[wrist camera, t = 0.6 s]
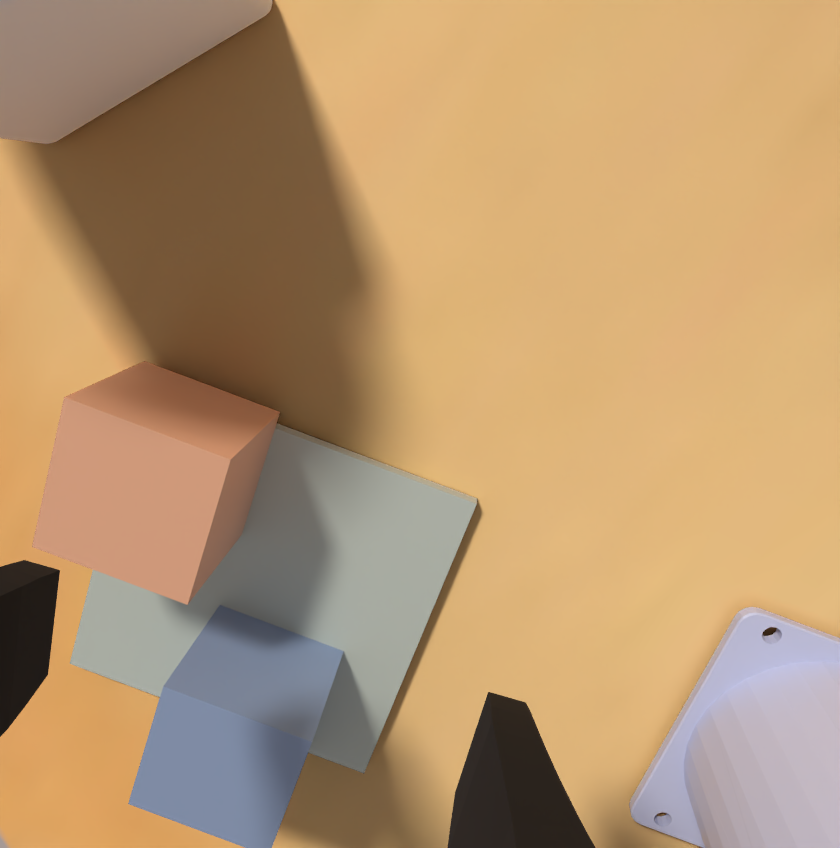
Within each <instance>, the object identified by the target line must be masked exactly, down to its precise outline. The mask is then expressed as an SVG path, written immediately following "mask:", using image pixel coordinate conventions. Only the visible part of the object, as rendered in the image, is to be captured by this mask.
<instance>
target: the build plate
mask: <svg viewBox="0 0 840 848" xmlns="http://www.w3.org/2000/svg"><path fill="white" fill-rule="evenodd" d="M476 505H477V498H475V497H472V496H469V495H467V494H464V493H461V492H459V491H456V490H453V489H451V488H448V487H445V486H443V485H440V484H437V483H435V482H432V481H429V480H427V479H424V478H421V477H419V476H416V475H413V474H411V473H408V472H405V471H403V470H400V469H397V468H395V467H392V466H389V465H387V464H384V463H381V462H379V461H376V460H373V459H371V458H368V457H365V456H363V455H360V454H357V453H355V452H352V451H349V450H347V449H344V448H341V447H339V446H336V445H333V444H331V443H328V442H326V441H323V440H320V439H318V438H315V437H312V436H310V435H307V434H304V433H302V432H299V431H296V430H294V429H291V428H288V427H286V426H283V425H280V424H278V423H277V424H276V427H275V430H274V434H273V437H272V440H271V443H270V446H269V450H268V453H267V456H266V459H265V462H264V466H263V469H262V472H261V475H260V478H259V482H258V485H257V488H256V491H255V494H254V497H253V501H252V504H251V507H250V510H249V513H248V517H247V520H246V523H245V526H244V529H243V533H242V535H241V536H240V538H239V539H238V540H237V542H236V543H235V544H234V545H233V547H232V548H231V549H230V551H229V552H228V553H227V555H226V556H225V557H224V558H223V560H222V561H221V562H220V564H219V565H218V566H217V567H216V569H215V570H214V571H213V573H212V574H211V575H210V576H209V578H208V579H207V580H206V582H205V583H204V584H203V586H202V587H201V588H200V589H199V591H198V592H197V593H196V595H195V596H194V597H193V598H192V600H191V601H190V602H189V604H188V605H186V604H184V603H181V602H178V601H176V600H173V599H170V598H168V597H165V596H162V595H160V594H157V593H154V592H152V591H149V590H146V589H144V588H141V587H138V586H136V585H133V584H130V583H128V582H125V581H122V580H119V579H117V578H114V577H111V576H109V575H106V574H103V573H101V572H98V571H95V570H93V572H92V576H91V580H90V584H89V588H88V592H87V596H86V600H85V604H84V608H83V612H82V617H81V621H80V625H79V629H78V633H77V637H76V641H75V645H74V649H73V653H72V657H71V661H70V664H72V665H75V666H78V667H80V668H83V669H86V670H88V671H91V672H94V673H96V674H99V675H102V676H104V677H107V678H110V679H112V680H115V681H118V682H120V683H123V684H126V685H128V686H131V687H134V688H136V689H139V690H142V691H145V692H147V693H150V694H153V695H155V696H158V697H160V696H161V692H162V689H163V686H164V685H165V683H166V682H167V680H168V679H169V677H170V676H171V674H172V673H173V672H174V670H175V669H176V667H177V666H178V664H179V663H180V662H181V660H182V659H183V657H184V656H185V654H186V653H187V651H188V650H189V649H190V647H191V646H192V644H193V643H194V641H195V640H196V638H197V637H198V636H199V634H200V633H201V631H202V630H203V628H204V627H205V625H206V624H207V623H208V621H209V620H210V618H211V617H212V615H213V614H214V613H215V611H216V610H217V608H218V607H219V605H222V606H225V607H227V608H230V609H233V610H235V611H238V612H241V613H243V614H246V615H249V616H251V617H254V618H257V619H259V620H262V621H265V622H267V623H270V624H273V625H275V626H278V627H281V628H283V629H286V630H289V631H291V632H294V633H297V634H299V635H302V636H305V637H307V638H310V639H313V640H315V641H318V642H321V643H323V644H326V645H329V646H331V647H334V648H337V649H339V650H342V651H344V652H343V654H342V657H341V660H340V663H339V666H338V669H337V672H336V675H335V678H334V680H333V683H332V686H331V689H330V692H329V695H328V698H327V701H326V703H325V706H324V709H323V712H322V715H321V718H320V721H319V724H318V727H317V729H316V732H315V735H314V738H313V741H312V744H311V746H310V749H309V751H308V753H311V754H313V755H316V756H319V757H321V758H324V759H327V760H329V761H332V762H335V763H337V764H340V765H343V766H345V767H348V768H351V769H353V770H356V771H359V772H361V773H364V772H365V770H366V767H367V765H368V763H369V760H370V758H371V755H372V753H373V751H374V748H375V746H376V743H377V741H378V739H379V736H380V734H381V732H382V729H383V727H384V724H385V722H386V720H387V717H388V715H389V712H390V710H391V708H392V705H393V703H394V700H395V698H396V696H397V693H398V691H399V689H400V686H401V684H402V681H403V679H404V677H405V674H406V672H407V669H408V667H409V665H410V662H411V660H412V657H413V655H414V653H415V650H416V648H417V646H418V643H419V641H420V638H421V636H422V634H423V631H424V629H425V626H426V624H427V622H428V619H429V617H430V614H431V612H432V610H433V607H434V605H435V603H436V600H437V598H438V595H439V593H440V591H441V588H442V586H443V583H444V581H445V579H446V576H447V574H448V571H449V569H450V567H451V564H452V562H453V560H454V557H455V555H456V552H457V550H458V548H459V545H460V543H461V540H462V538H463V536H464V533H465V531H466V528H467V526H468V524H469V521H470V519H471V517H472V514H473V512H474V509H475V507H476Z"/></svg>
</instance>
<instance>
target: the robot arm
mask: <svg viewBox="0 0 840 848" xmlns="http://www.w3.org/2000/svg"><path fill="white" fill-rule="evenodd" d="M59 573H60V570H57V569H54V568H50V567H47V566H43V565H40V564H36V563H32V562H29V561H25V560H23V561H20V562H16V563H12V564H8V565H5V566H2V567H0V736H1V735H2V734H3V733H4V732H5V731H6V730H7V729H8V728H9V726H10V725H11V724H12V723H13V721H14V720H15V719H16V717H17V716H18V715H19V713H20V712H21V711H22V710H23V708H24V707H25V706H26V704H27V703H28V702H29V700H30V699H31V697H32V696H33V695H34V693H35V692H36V690H37V689H38V688H39V686H40V685H41V683H42V682H43V681H44V679H45V678H46V676H47V675H48V669H49V660H50V651H51V643H52V634H53V625H54V616H55V608H56V599H57V590H58V581H59ZM770 627H775V628H777V629H776V631H775V632H774V633H773V634H772V635H769V636H763V635H762V634H763V632H764V631H765V630H766V629H767V628H770ZM629 806H630V811H631V816H632V818H633V819H634V820H635V822H637V823H639V824H641V825H643V826H646V827H649V828H651V829H654V830H657V831H659V832H662V833H665V834H667V835H670V836H673V837H675V838H678V839H681V840H683V841H686V842H689V843H692V844H694V845H697V846H700V847H702V848H840V638H838V637H835V636H833V635H830V634H827V633H825V632H822V631H819V630H817V629H814V628H811V627H809V626H806V625H803V624H801V623H798V622H795V621H793V620H790V619H787V618H785V617H782V616H779V615H777V614H774V613H771V612H769V611H766V610H763V609H761V608H757V607H748V608H744V609H742V610H741V611H739V612H738V613H737V614H736V615H735V617H734V618H733V620H732V622H731V624H730V625H729V627H728V629H727V631H726V633H725V634H724V636H723V638H722V640H721V641H720V643H719V645H718V647H717V648H716V650H715V652H714V654H713V655H712V657H711V659H710V661H709V662H708V664H707V666H706V668H705V669H704V671H703V673H702V675H701V676H700V678H699V680H698V682H697V683H696V685H695V687H694V689H693V691H692V692H691V694H690V696H689V698H688V699H687V701H686V703H685V705H684V706H683V708H682V710H681V712H680V713H679V715H678V717H677V719H676V720H675V722H674V724H673V726H672V727H671V729H670V731H669V733H668V734H667V736H666V738H665V740H664V741H663V743H662V745H661V747H660V749H659V750H658V752H657V754H656V756H655V757H654V759H653V761H652V763H651V764H650V766H649V768H648V770H647V771H646V773H645V775H644V777H643V778H642V780H641V782H640V784H639V785H638V787H637V789H636V791H635V792H634V794H633V796H632V798H631V800H630V803H629ZM661 812H663V813H667V814H666V815H664V816H656V815H657V814H658V813H661ZM448 848H595V846H594V844H593V843H592V841H591V839H590V837H589V836H588V834H587V832H586V830H585V828H584V826H583V824H582V822H581V821H580V819H579V817H578V815H577V813H576V811H575V809H574V807H573V805H572V803H571V801H570V799H569V797H568V795H567V793H566V791H565V789H564V787H563V785H562V783H561V781H560V778H559V776H558V774H557V772H556V770H555V768H554V766H553V763H552V761H551V759H550V757H549V754H548V752H547V750H546V748H545V745H544V743H543V741H542V738H541V736H540V734H539V731H538V729H537V726H536V724H535V722H534V719H533V717H532V714H531V712H530V710H529V708H528V706H527V704H526V703H525V702H522V701H518V700H515V699H511V698H508V697H504V696H501V695H497V694H494V693H490V692H488V695H487V698H486V701H485V704H484V707H483V710H482V713H481V716H480V719H479V722H478V725H477V728H476V731H475V734H474V737H473V740H472V743H471V746H470V749H469V752H468V755H467V758H466V762H465V765H464V768H463V771H462V774H461V777H460V780H459V783H458V786H457V789H456V792H455V798H454V805H453V812H452V819H451V826H450V834H449V841H448Z"/></svg>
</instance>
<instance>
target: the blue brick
mask: <svg viewBox="0 0 840 848" xmlns="http://www.w3.org/2000/svg"><path fill="white" fill-rule="evenodd" d="M343 652H344V651H342V650H339V649H337V648H334V647H331V646H329V645H326V644H323V643H321V642H318V641H315V640H313V639H310V638H307V637H305V636H302V635H299V634H297V633H294V632H291V631H289V630H286V629H283V628H281V627H278V626H275V625H273V624H270V623H267V622H265V621H262V620H259V619H257V618H254V617H251V616H249V615H246V614H243V613H241V612H238V611H235V610H233V609H230V608H227V607H225V606H222V605H219V607H218V608H217V610H216V611H215V613H214V614H213V615H212V617H211V618H210V620H209V621H208V623H207V624H206V625H205V627H204V628H203V630H202V631H201V633H200V634H199V636H198V637H197V638H196V640H195V641H194V643H193V644H192V646H191V647H190V649H189V650H188V651H187V653H186V654H185V656H184V657H183V659H182V660H181V662H180V663H179V664H178V666H177V667H176V669H175V670H174V672H173V673H172V674H171V676H170V677H169V679H168V680H167V682H166V683H165V685H164V686H163V689H162V692H161V696H160V699H159V702H158V706H157V709H156V712H155V716H154V719H153V723H152V726H151V729H150V733H149V736H148V739H147V743H146V746H145V749H144V753H143V756H142V760H141V763H140V766H139V770H138V773H137V776H136V780H135V783H134V786H133V790H132V793H131V797H130V800H129V803H128V804H130V805H133V806H135V807H138V808H141V809H143V810H146V811H149V812H151V813H154V814H157V815H160V816H162V817H165V818H168V819H170V820H173V821H176V822H178V823H181V824H184V825H186V826H189V827H192V828H194V829H197V830H200V831H202V832H205V833H208V834H211V835H213V836H216V837H219V838H221V839H224V840H227V841H229V842H232V843H235V844H237V845H240V846H243V847H245V848H272V845H273V842H274V840H275V837H276V835H277V832H278V829H279V827H280V824H281V822H282V819H283V816H284V814H285V811H286V809H287V806H288V803H289V801H290V798H291V796H292V793H293V790H294V788H295V785H296V783H297V780H298V777H299V775H300V772H301V770H302V767H303V764H304V762H305V759H306V757H307V754H308V751H309V749H310V746H311V744H312V741H313V738H314V735H315V732H316V729H317V727H318V724H319V721H320V718H321V715H322V712H323V709H324V706H325V703H326V701H327V698H328V695H329V692H330V689H331V686H332V683H333V680H334V678H335V675H336V672H337V669H338V666H339V663H340V660H341V657H342V654H343Z"/></svg>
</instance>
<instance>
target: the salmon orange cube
mask: <svg viewBox="0 0 840 848" xmlns="http://www.w3.org/2000/svg"><path fill="white" fill-rule="evenodd" d="M279 414H280V412H279V411H276V410H273V409H271V408H268V407H265V406H263V405H260V404H257V403H255V402H252V401H249V400H247V399H244V398H241V397H239V396H236V395H233V394H231V393H228V392H225V391H223V390H220V389H218V388H215V387H212V386H210V385H207V384H204V383H202V382H199V381H196V380H194V379H191V378H188V377H186V376H183V375H180V374H178V373H175V372H172V371H170V370H167V369H164V368H162V367H159V366H156V365H154V364H151V363H148V362H146V361H144V362H141V363H139V364H137V365H135V366H133V367H130V368H128V369H126V370H124V371H121V372H119V373H117V374H115V375H113V376H110V377H108V378H106V379H104V380H101V381H99V382H97V383H95V384H92V385H90V386H88V387H86V388H84V389H81V390H79V391H77V392H75V393H72V394H70V395H68V396H66V397H64V401H63V406H62V410H61V415H60V420H59V424H58V429H57V433H56V438H55V443H54V447H53V452H52V457H51V461H50V466H49V471H48V475H47V480H46V485H45V489H44V494H43V499H42V503H41V508H40V512H39V517H38V522H37V526H36V531H35V536H34V540H33V545H32V547H34V548H37V549H39V550H42V551H45V552H47V553H50V554H53V555H55V556H58V557H61V558H63V559H66V560H69V561H71V562H74V563H77V564H79V565H82V566H85V567H87V568H90V569H93V570H95V571H98V572H101V573H103V574H106V575H109V576H111V577H114V578H117V579H119V580H122V581H125V582H128V583H130V584H133V585H136V586H138V587H141V588H144V589H146V590H149V591H152V592H154V593H157V594H160V595H162V596H165V597H168V598H170V599H173V600H176V601H178V602H181V603H184V604H186V605H188V604H189V602H190V601H191V600H192V598H193V597H194V596H195V595H196V593H197V592H198V591H199V589H200V588H201V587H202V586H203V584H204V583H205V582H206V580H207V579H208V578H209V576H210V575H211V574H212V573H213V571H214V570H215V569H216V567H217V566H218V565H219V564H220V562H221V561H222V560H223V558H224V557H225V556H226V555H227V553H228V552H229V551H230V549H231V548H232V547H233V545H234V544H235V543H236V542H237V540H238V539H239V538H240V536H241V535H242V533H243V529H244V526H245V523H246V520H247V517H248V513H249V510H250V507H251V504H252V501H253V497H254V494H255V491H256V488H257V485H258V482H259V478H260V475H261V472H262V469H263V466H264V462H265V459H266V456H267V453H268V450H269V446H270V443H271V440H272V437H273V434H274V430H275V427H276V424H277V421H278V418H279Z"/></svg>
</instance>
